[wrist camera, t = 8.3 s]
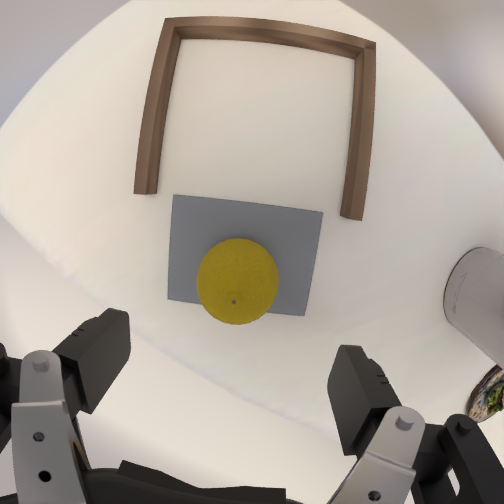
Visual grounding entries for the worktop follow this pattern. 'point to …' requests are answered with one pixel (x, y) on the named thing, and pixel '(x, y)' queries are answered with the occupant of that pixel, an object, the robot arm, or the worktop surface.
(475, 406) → the burger
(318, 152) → the worktop surface
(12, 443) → the robot arm
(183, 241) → the mat
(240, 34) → the bay
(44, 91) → the worktop surface
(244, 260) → the lemon
